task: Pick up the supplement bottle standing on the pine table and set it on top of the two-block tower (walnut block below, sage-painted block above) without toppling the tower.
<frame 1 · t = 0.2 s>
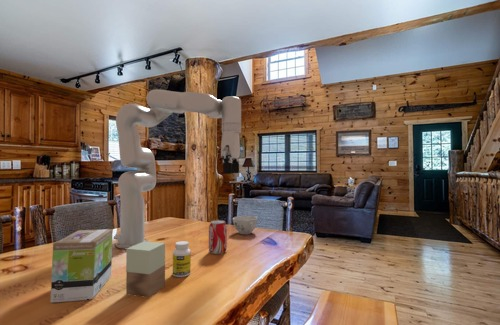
hand: (231, 173, 103), 31 cm above the table, tool pointing down, fingers open, 9 cm apart
tea box: (84, 289, 73), on the table
supplement bottle: (181, 274, 83), on the table
soda can: (217, 252, 104), on the table
top block: (146, 268, 72), point 6 cm above the table, touching bottom block
teacup: (245, 234, 134), on the table
bottom block: (146, 290, 72), on the table, touching top block
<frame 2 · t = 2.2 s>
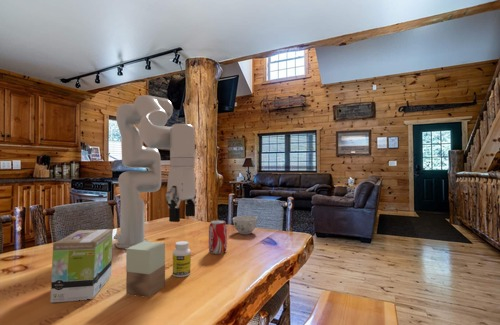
hand: (182, 218, 83), 17 cm above the table, tool pointing down, fingers open, 9 cm apart
nothing on the table moved.
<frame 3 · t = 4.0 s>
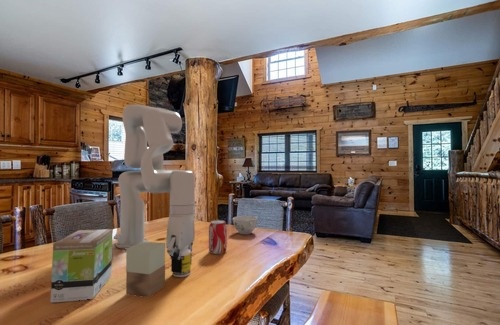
hand: (181, 267, 83), 2 cm above the table, tool pointing down, fingers closed on supplement bottle, 5 cm apart
supplement bottle: (181, 274, 83), on the table, touching gripper
everything else where it was.
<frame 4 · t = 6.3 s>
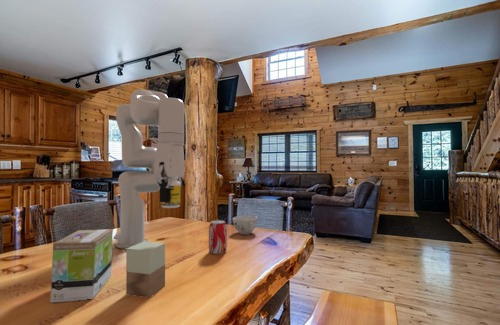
hand: (170, 200, 79), 23 cm above the table, tool pointing down, fingers closed on supplement bottle, 5 cm apart
supplement bottle: (170, 207, 79), point 21 cm above the table, touching gripper
everything else where it was.
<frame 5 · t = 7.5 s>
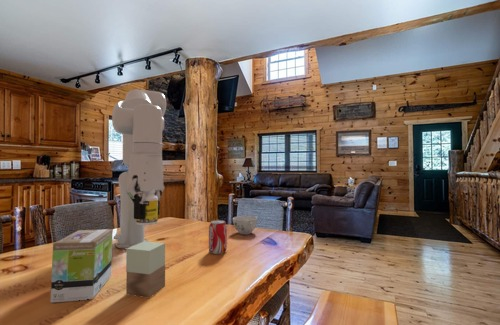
hand: (147, 216, 72), 20 cm above the table, tool pointing down, fingers closed on supplement bottle, 5 cm apart
supplement bottle: (147, 224, 72), point 18 cm above the table, touching gripper
everything else where it was.
when the fingers open (16 cm above the table, at t = 8.6 s): supplement bottle drops 2 cm, resting on top block.
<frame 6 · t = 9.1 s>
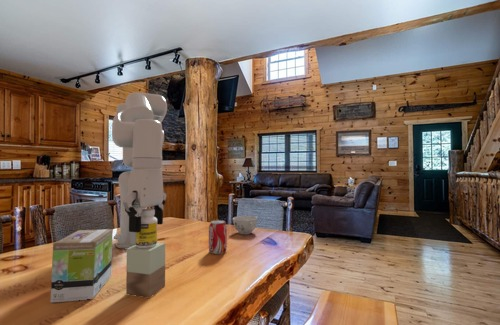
hand: (146, 227, 72), 17 cm above the table, tool pointing down, fingers open, 9 cm apart
supplement bottle: (146, 246, 72), point 12 cm above the table, touching top block
top block: (146, 268, 72), point 6 cm above the table, touching supplement bottle, bottom block
everything else where it was.
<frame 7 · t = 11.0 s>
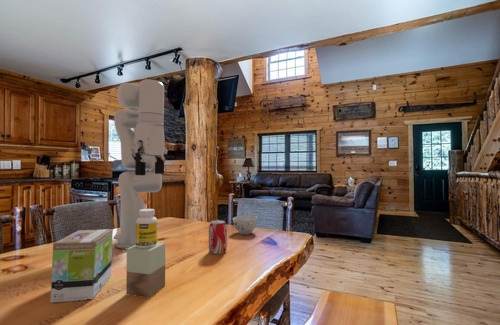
hand: (150, 174, 84), 31 cm above the table, tool pointing down, fingers open, 9 cm apart
nothing on the table moved.
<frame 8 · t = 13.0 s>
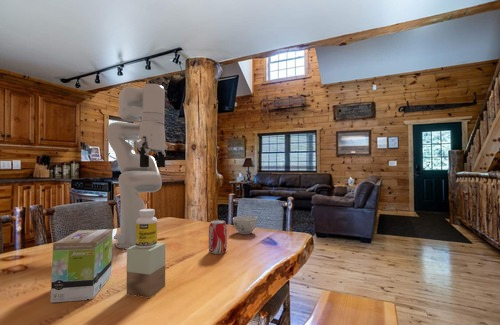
hand: (153, 167, 95), 33 cm above the table, tool pointing down, fingers open, 9 cm apart
nothing on the table moved.
at the end: supplement bottle 0.1 cm off-centre on the top block, point 5.8 cm above the top block's base; top block tilted 0°; supplement bottle point 11.7 cm above the table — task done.
